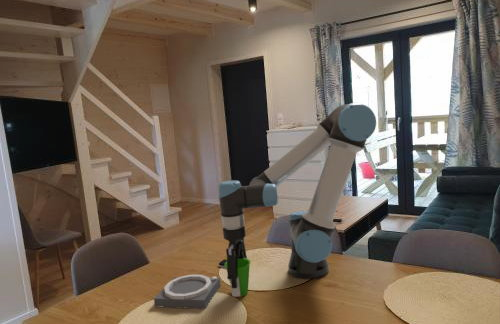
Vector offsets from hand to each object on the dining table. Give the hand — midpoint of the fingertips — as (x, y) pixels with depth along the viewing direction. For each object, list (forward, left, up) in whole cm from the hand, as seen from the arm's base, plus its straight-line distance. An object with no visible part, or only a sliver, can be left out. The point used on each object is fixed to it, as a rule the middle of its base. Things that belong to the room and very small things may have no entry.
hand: (240, 289), depth 127 cm
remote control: (+11, -27, -2) cm, 29 cm away
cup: (0, 0, -2) cm, 2 cm away
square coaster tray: (+18, +3, -1) cm, 18 cm away
